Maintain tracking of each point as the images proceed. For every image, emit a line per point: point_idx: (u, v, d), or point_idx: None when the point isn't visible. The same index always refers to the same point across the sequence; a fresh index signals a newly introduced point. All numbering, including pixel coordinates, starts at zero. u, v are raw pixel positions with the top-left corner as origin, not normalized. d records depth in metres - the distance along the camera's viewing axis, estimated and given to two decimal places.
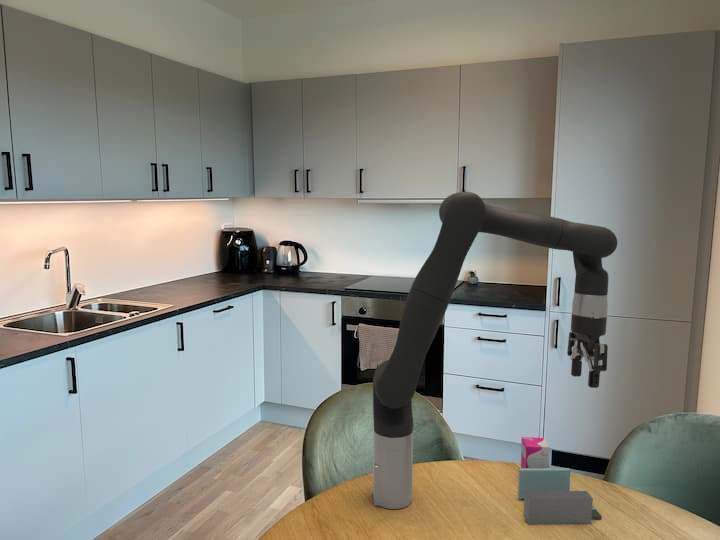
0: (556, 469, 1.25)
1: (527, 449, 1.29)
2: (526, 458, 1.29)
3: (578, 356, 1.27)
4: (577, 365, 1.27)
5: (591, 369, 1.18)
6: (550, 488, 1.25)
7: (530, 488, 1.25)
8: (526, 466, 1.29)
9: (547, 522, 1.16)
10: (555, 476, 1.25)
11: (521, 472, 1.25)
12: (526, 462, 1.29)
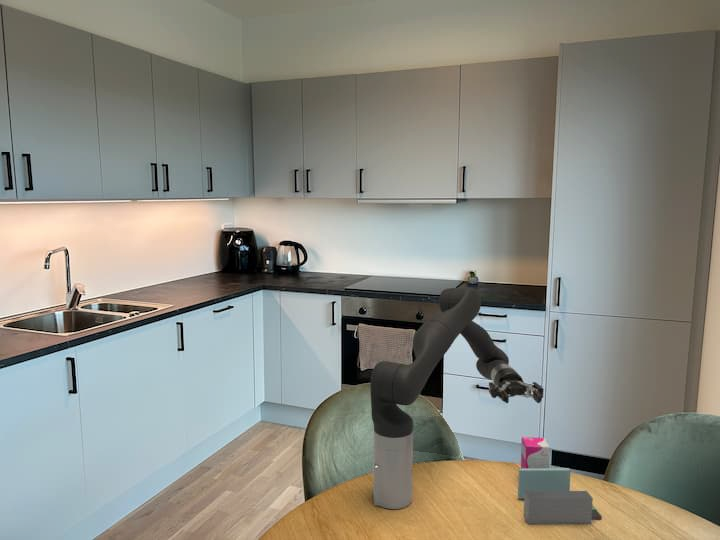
0: (556, 469, 1.25)
1: (527, 449, 1.29)
2: (526, 458, 1.29)
3: None
4: None
5: (537, 389, 1.45)
6: (550, 488, 1.25)
7: (530, 488, 1.25)
8: (526, 466, 1.29)
9: (547, 522, 1.16)
10: (555, 476, 1.25)
11: (521, 472, 1.25)
12: (526, 462, 1.29)
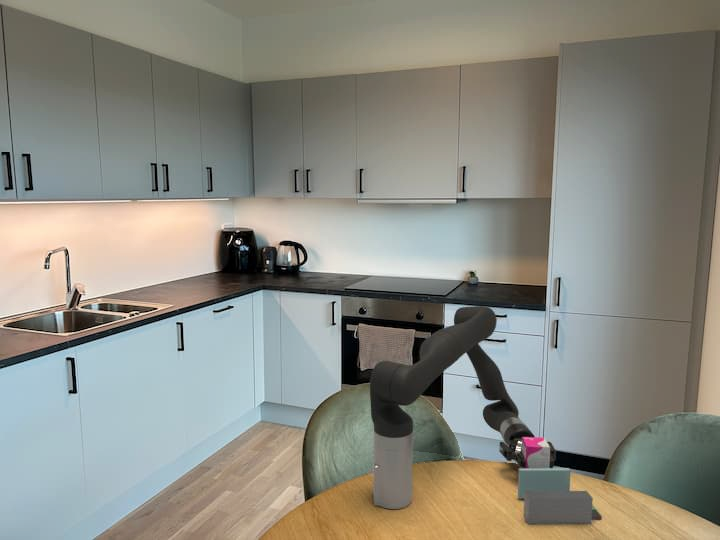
0: (556, 469, 1.25)
1: (527, 449, 1.29)
2: (526, 458, 1.29)
3: None
4: None
5: None
6: (550, 488, 1.25)
7: (530, 488, 1.25)
8: (526, 466, 1.29)
9: (547, 522, 1.16)
10: (555, 476, 1.25)
11: (521, 472, 1.25)
12: (526, 462, 1.29)
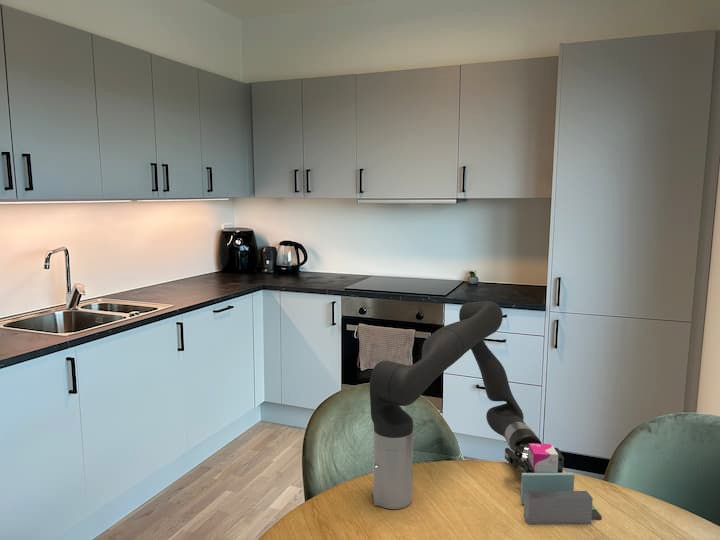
0: (560, 474, 1.23)
1: (535, 456, 1.24)
2: (533, 465, 1.24)
3: None
4: None
5: None
6: None
7: None
8: None
9: (547, 522, 1.16)
10: (558, 481, 1.23)
11: (524, 477, 1.22)
12: (533, 470, 1.24)
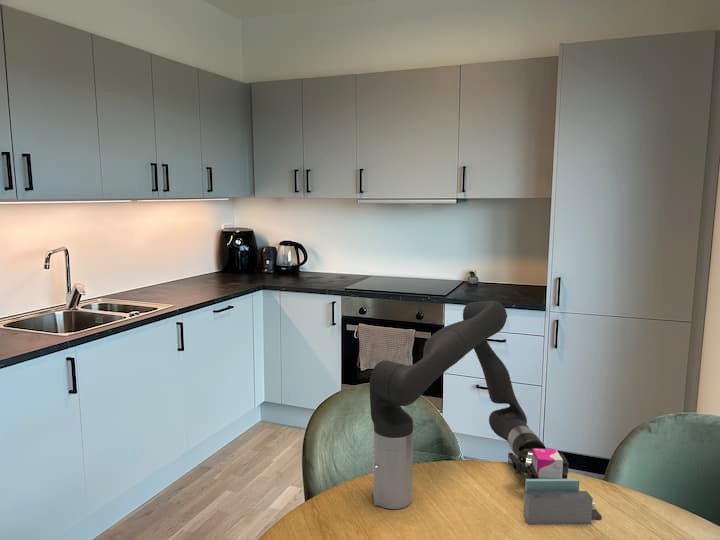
0: (564, 480, 1.20)
1: (539, 462, 1.21)
2: (537, 471, 1.21)
3: None
4: None
5: None
6: None
7: None
8: None
9: (547, 522, 1.16)
10: (563, 487, 1.20)
11: (528, 483, 1.20)
12: (537, 475, 1.21)
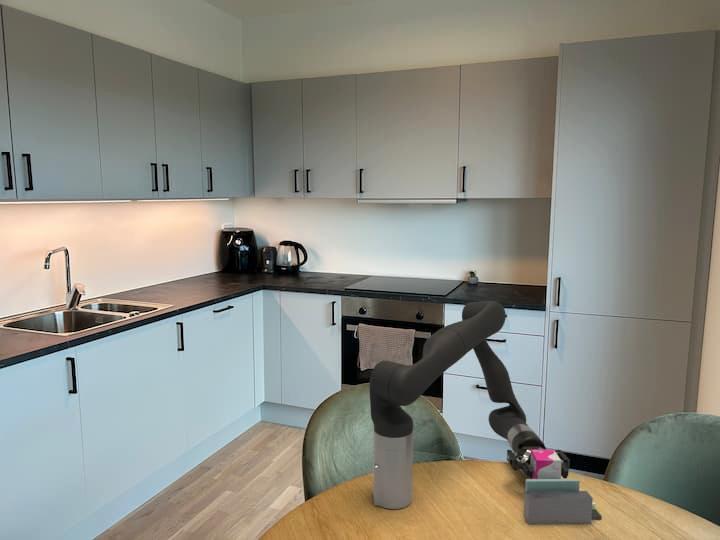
0: (564, 480, 1.20)
1: (537, 463, 1.22)
2: (536, 472, 1.22)
3: None
4: None
5: (562, 461, 1.27)
6: None
7: None
8: None
9: (547, 522, 1.16)
10: (563, 488, 1.20)
11: (528, 483, 1.20)
12: (536, 476, 1.22)
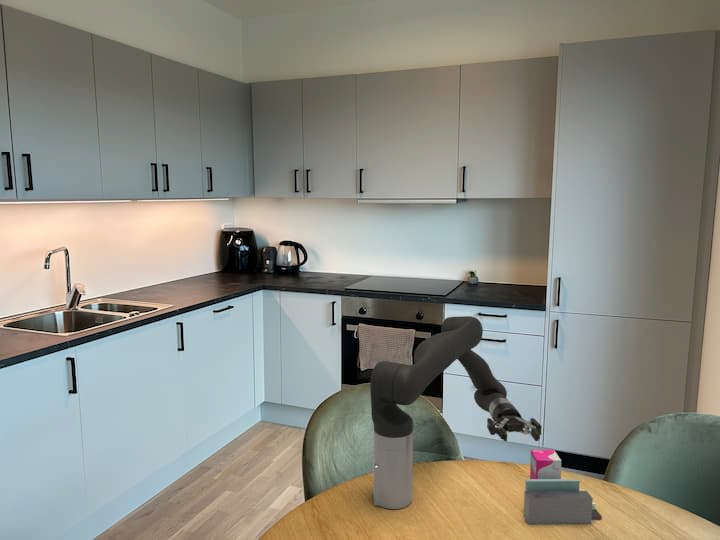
0: (564, 480, 1.20)
1: (538, 463, 1.22)
2: (536, 472, 1.22)
3: None
4: None
5: (535, 426, 1.46)
6: None
7: None
8: None
9: (547, 522, 1.16)
10: (563, 488, 1.20)
11: (528, 483, 1.20)
12: (536, 476, 1.22)
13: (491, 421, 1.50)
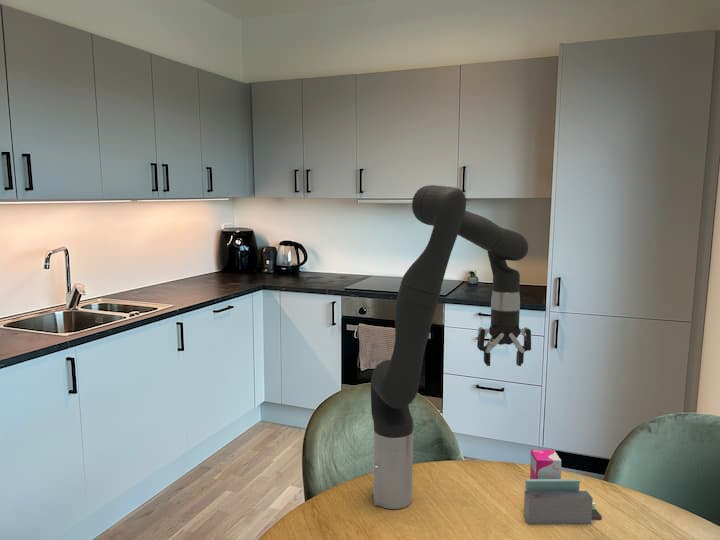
0: (564, 480, 1.20)
1: (538, 463, 1.22)
2: (536, 472, 1.22)
3: None
4: None
5: (523, 351, 1.44)
6: None
7: None
8: None
9: (547, 522, 1.16)
10: (563, 488, 1.20)
11: (528, 483, 1.20)
12: (536, 476, 1.22)
13: (483, 337, 1.43)
